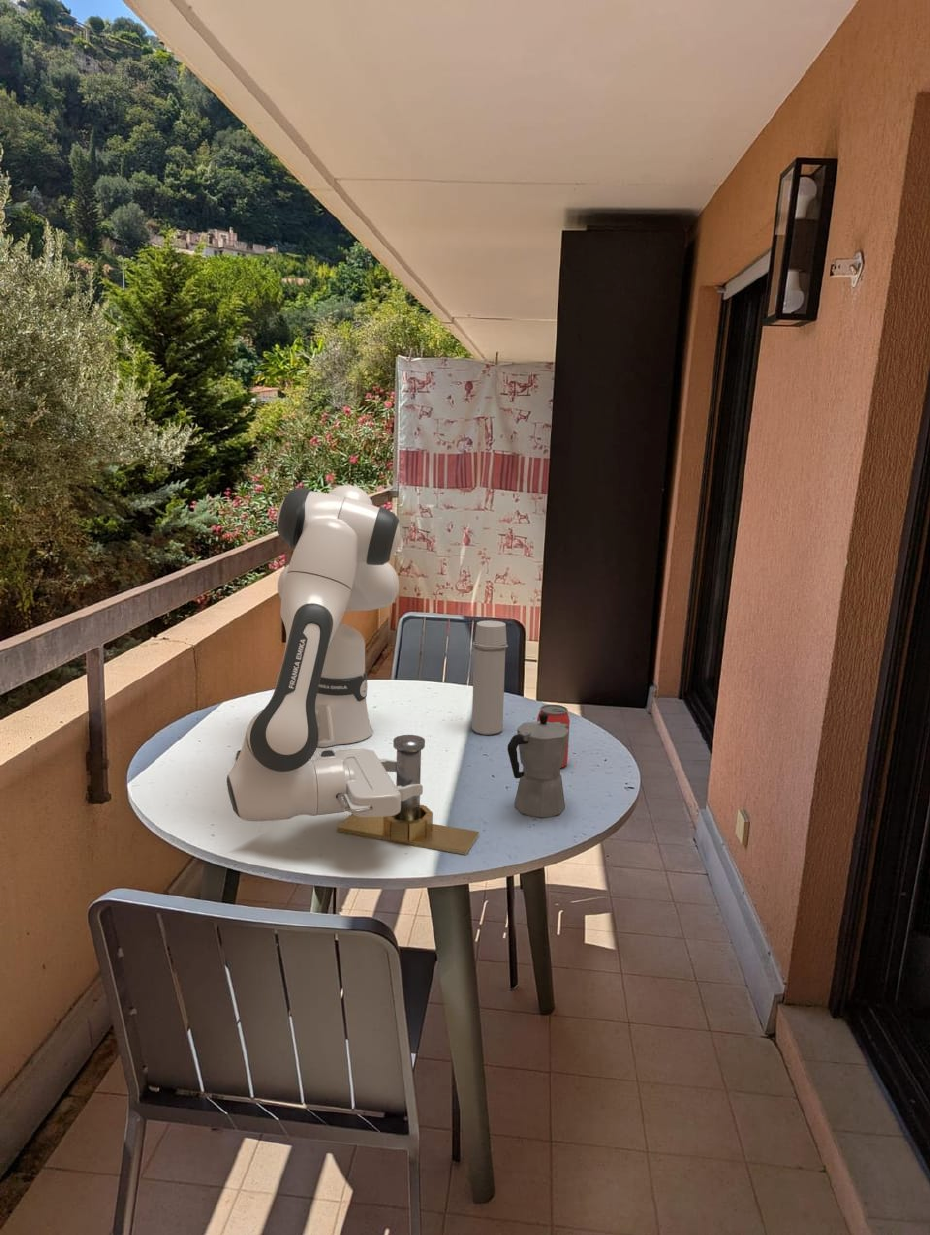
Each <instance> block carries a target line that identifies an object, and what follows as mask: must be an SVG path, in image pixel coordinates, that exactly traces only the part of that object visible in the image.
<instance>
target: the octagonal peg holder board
mask: <svg viewBox="0 0 930 1235" xmlns="http://www.w3.org/2000/svg"><path fill="white" fill-rule="evenodd" d="M433 822H434V812H433V811H432V810H431V809H430V808H428V806H426V805H424V804H420V819H419V820H414V821H409V822H408V821H402V820H396V815H394V816H385V817H357V816H355V815H353V814H352V813H350V815H349V816H347V817H346V819H344V820H343V821H341V823H340V824H339V825H338V826H337V830H336V831H337V833H341V834H342V833H344V834H349V835H353V836H357V837H358V836H359V837H364V838H370V839H375V840H380V841H381V840H382V841H386V842H392V843H398V844H404V845H408V846H415V847H420V848H425V849H430V850H437V851H441V852H447V853H452V854H457V855H463V856H467V854H469V851H470V850H471V848H472V847H473V845H474V844H475V843H476V841H477V840H478V838H479V836H480V832H479V831H476V830H472V829H471V830H469V829H464V828H458V827H454V826H447V825H443V824H436V823H433Z"/></svg>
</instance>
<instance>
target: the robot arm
mask: <svg viewBox="0 0 930 1235" xmlns="http://www.w3.org/2000/svg"><path fill="white" fill-rule="evenodd" d="M276 527H277V529H276V530H277V531H276V532H277V534H278V536H279V537H280V538H281V540H282V541H283V542H284V543H286V544H288V545H289V547H290V548H292V549H294V550H293V553H292V555H291V557H290V558H291V559H290V560H289V564H287V565H285V566H284V568H283V569H282V571H281V572H280V574H279V576H278V579H277V580H278V581H277V592H278V596H279V598H280V610H279V611H280V613H279V615H280V617H281V620H282V622H283V626H284V629H285V634H286V635H285V636H286V638H285V647H284V648H285V649H284V652H283V657H282V661H281V664H280V668H279V673H278V676H277V680H276V684H275V688H274V692H273V694H272V697H271V699H270V700H269V702H268V704H267V705H266V706H265V707H264V709H261V710H260V711H259V712H257V713H256V714H255V715H254V716H253V717H252V719H250V721H249V724H248V725H247V728H246V732H245V736H244V739H243V744H242V747H241V749H240V750H241V752H240V755H239V757H238V759H237V758H236V761H235V763H234V765H233V767H232V769H231V770H230V772H229V773H228V774H227V776H226V786H227V792H228V796H229V799H230V803H231V805H232V810H233V811H234V813H235V814H236V815H237V816H238V817H239V819H242V820H243V821H247V822H269V821H271V822H272V821H281V820H288V819H292V818H294V817H297V816H302V815H303V816H311V817H315V816H323V815H333V814H340V813H344V812H349V813H350V814H353V815H355V816H357V817H385V816H394V815H396V814H398V813H400V811H401V801H405V800H407V799H408V798H410V797H412V796H418V795H420V796H421V795H423V791H424V787H423V784H422V783H421V781H420V782H410V785H407V786H404V787H402V786H396V784H395V783H394V780H393V779H392V778H391V776H390V774H389V773H396V774H397V760H393V759H387V758H379V757H378V755H377V754H376V753H375V751H374V750H373V749H367V748H352V749H351V748H350V749H349V748H348V749H339V750H336V751H334V749H333V748H327V747H332V746H335V745H336V746H337V745H345V744H346V745H347V744H354V743H356V742H357V743H358V742H361V741H364V740H366V739H368V738H370V737H371V736H372V734H373V728H372V725H371V722H370V718H369V712H368V703H367V697H368V689H369V688H368V686H369V685H368V671H367V670H366V641H365V637H364V636H363V634H361V632H360V631H358V630H357V629H356V628H354V627H352V626H350V625H348V624H345V623H344V622H341V621H342V620H343V617H344V614H345V612H351V611H352V612H354V611H357V612H358V611H359V612H360V611H364V612H365V611H372V610H377V609H383V608H387V607H391V606H392V604H393V603H394V602H395V600H396V599H397V598H398V594H399V592H400V579H399V575H398V572H397V571H396V569H395V567H394V566H393V565H391V564H390V563H389V561H391V559H392V557H393V556H394V555H395V553H396V552H397V549H398V548H399V546H400V542H401V526H400V520H399V518H398V517H397V515H396V514H395V512H393V511H392V510H389V509H388V508H386V507H382V506H380V507H378V506H376V505H373V501H372V499H371V497H370V496H369V494H368V493H367V492H366V491H364V490H363V489H362V488H360V487H357V486H355V485H350V484H348V485H347V484H344V485H340V486H336V487H335V488H333V489H332V490H330V491H329V492H328V493H326V492H319V491H312V489H308V488H293V489H292V490H290V491H288V492H287V493H286V494H285V496H284V498H283V499H282V501H281V502H280V504H279V507H278V509H277V513H276ZM317 747H318V748H325V749H321V750H320V751H319V754H318V757H317V759H312V760H311V758H313V756H314V754H315V753H316V750H317Z"/></svg>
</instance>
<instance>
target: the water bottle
mask: <svg viewBox="0 0 930 1235" xmlns="http://www.w3.org/2000/svg"><path fill="white" fill-rule="evenodd" d="M506 626H507V625H506V623H505V622H503V621H499V620H480V621H478V622H476V627H475V634H474V635H475V636H474V641H473V642H472V645H473V646H474V647H473V669H472V673H473V675H472V700H471V701H472V703H471V705H472V706H471V707H472V708H471V710H472V711H471V729H472V730H473V732H475V733H476V734H480V735H485V736H491V735H497V734H499V733H501V732H502V731H503V726H504V725H503V724H504V695H505V672H506V671H505V669H506V668H505V666H506V665H505V664H506V648H508V647H509V645H508V644H507V628H506Z"/></svg>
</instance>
